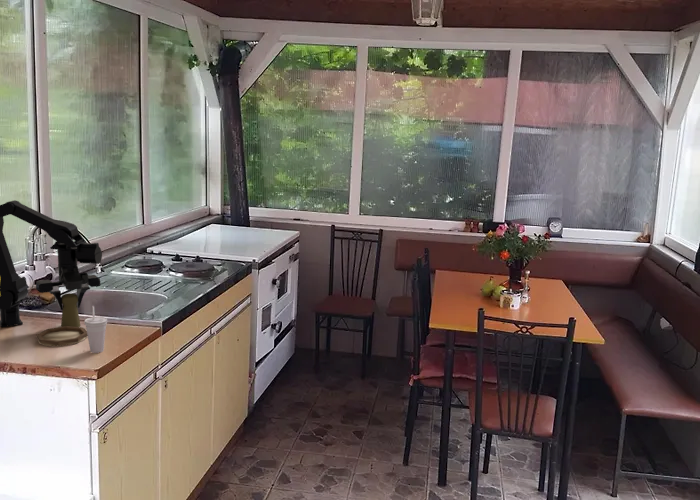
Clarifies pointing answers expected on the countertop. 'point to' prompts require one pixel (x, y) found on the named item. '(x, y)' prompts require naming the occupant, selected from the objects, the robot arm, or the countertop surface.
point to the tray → (62, 336)
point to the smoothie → (96, 332)
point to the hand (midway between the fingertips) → (69, 308)
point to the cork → (70, 310)
